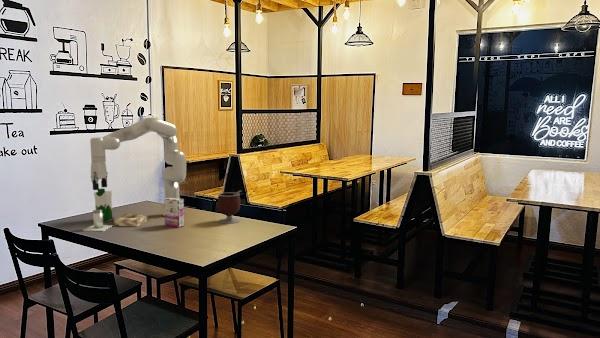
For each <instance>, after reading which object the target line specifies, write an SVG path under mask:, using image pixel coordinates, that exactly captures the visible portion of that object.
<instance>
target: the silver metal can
mask: <svg viewBox="0 0 600 338" xmlns="http://www.w3.org/2000/svg"><path fill="white" fill-rule="evenodd" d="M92 218H93V219H92V220H93V225H94V228H103V227H104V226H103V225H104V222H103V212H102V210H101V209H99V210H96V209H93V210H92Z"/></svg>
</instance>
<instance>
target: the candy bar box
mask: <svg viewBox="0 0 600 338" xmlns="http://www.w3.org/2000/svg"><path fill="white" fill-rule="evenodd" d="M163 201H164V212H165V216H164V225H165V226H167V227H174V228H182V227H185V212H184V209H185V208H184V207H185V206H184V205H185V203H184V202H185V199H184V198H180V199H179V198H165V197H164V200H163Z"/></svg>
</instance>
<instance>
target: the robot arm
mask: <svg viewBox="0 0 600 338" xmlns="http://www.w3.org/2000/svg"><path fill="white" fill-rule="evenodd" d="M150 132H153V133H156V135H158V137H160V138H161V139H162V140H163V145H164V162H165V163H166V164H167V165H170V166H166V167H165V168H164V169H163V172H162V181H163V188H164V189H163V190H164V192H163V193H164V196H163V197H164V199H165V198H179V199H181V196H180V184H181V183H182V182H184V181H185V180H186V177H187V157H186V154H185V153H184V152H183V151H180V150H179V140H178V138H177V133H178V129H177V127H176V125H174V124H173V123H170V122H167V121H164V120H162V119H160V118H157V117H145V118H143V119H141V120H139V121H137V122H134V123H133V124H131V125H128V126H125V127H123V128H120V129H119V130H115V131H112V132H111V133H108V134H106V135H104V136H102V137H91V138H90V139H89V142H90V157H91V160H90V161H91V164H90V179H91V184H92V190H93V191H98V190H99V189H100V188H99V187H100V185H99V180H101V181H100V183H101V188H108V171H107V164H106V162H107V159H106V158H107V157H106V150H108V151H109V150H111V151H113V150H117V149H119V148H120V146H121V143H123V142H127V141H128V142H129V141H133V140H136V139H138V138H140V137H142V136H144V135H146V134H148V133H150ZM186 212H187V210H186V209H185V208H184V213H186ZM162 216H164V217H165V211H164V212H162Z"/></svg>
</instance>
